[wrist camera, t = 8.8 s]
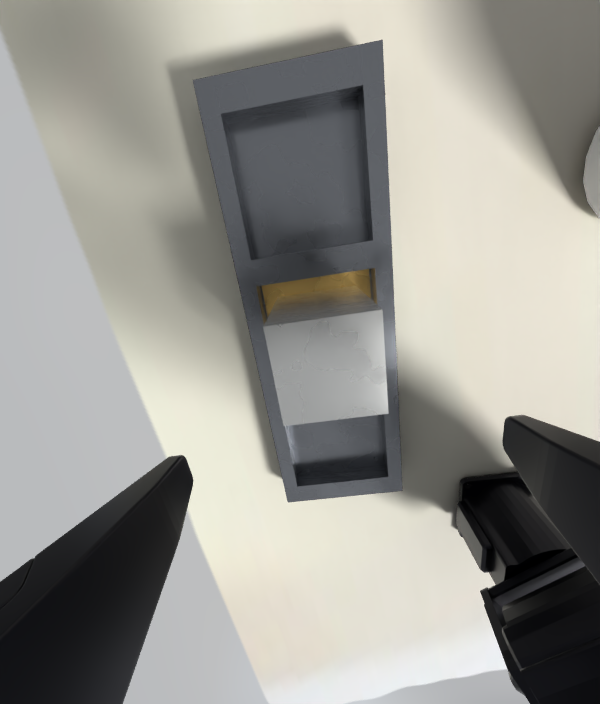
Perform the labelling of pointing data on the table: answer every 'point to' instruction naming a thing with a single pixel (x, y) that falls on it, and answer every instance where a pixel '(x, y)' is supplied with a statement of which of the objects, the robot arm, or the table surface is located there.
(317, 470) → the gray compartment tray
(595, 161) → the can
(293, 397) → the metal block
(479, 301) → the table surface
